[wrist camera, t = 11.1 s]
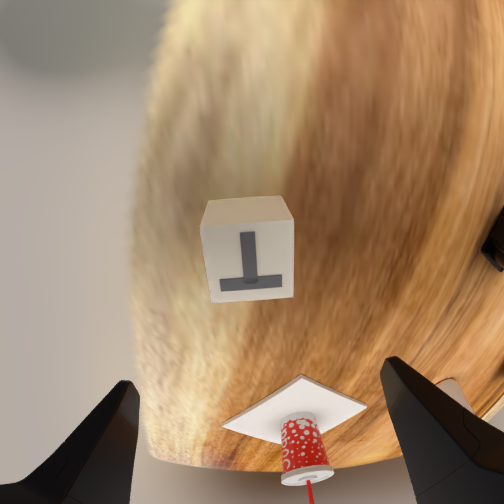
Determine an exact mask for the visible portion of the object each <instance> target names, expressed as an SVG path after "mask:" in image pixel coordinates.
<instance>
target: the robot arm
mask: <svg viewBox="0 0 504 504" xmlns="http://www.w3.org/2000/svg"><path fill="white" fill-rule="evenodd" d="M482 254H483V255H484V256H485V257H486V258H487V259H488V260H489V261H490V262H491V263H492V264H493V265H494V266H495V267H496V268H497V269H498V271H500V272H502V271H503V270H504V209H503V211H502V213H501V215H500V217H499V219H498V221H497V223H496V225H495V226H494V228H493V230H492V232H491V234H490V236H489V237H488V239H487V241H486V243H485V244H484V246H483V248H482ZM380 378H381V382H382V386H383V390H384V395H385V399H386V403H387V407H388V411H389V414H390V418H391V420H392V423H393V426H394V429H395V432H396V435H397V438H398V441H399V444H400V447H401V450H402V453H403V456H404V459H405V462H406V466H407V469H408V472H409V476H410V479H411V483H412V485H413V490H414V493H415V496H416V501H417V504H504V432H502V431H501V430H499V429H497V428H495V427H493V426H492V425H490V424H488V423H487V422H485V421H484V420H482V419H480V418H479V417H477V416H476V415H475V414H473V413H472V412H470V411H469V410H468V409H466V408H465V407H463V406H462V405H461V404H460V403H458V402H457V401H456V400H454V399H453V398H452V397H450V396H449V395H448V394H446V393H445V392H444V391H442V390H441V389H440V388H438V387H437V386H436V385H434V384H433V383H432V382H430V381H429V380H428V379H426V378H425V377H424V376H422V375H421V374H420V373H418V372H417V371H416V370H415V369H413V368H412V367H411V366H409V365H408V364H407V363H405V362H404V361H403V360H401V359H400V358H399V357H397V356H393V357H389V358H386V359H385V361H384V364H383V366H382V369H381V372H380ZM139 407H140V395H139V393H138V391H137V389H136V388H135V386H134V384H133V383H132V382H131V381H128V380H121V381H119V382H118V383H117V384H116V385H115V386H114V388H113V389H112V390H111V391H110V392H109V393H108V394H107V395H106V396H105V397H104V398H103V400H102V401H101V402H100V403H99V404H98V405H97V406H96V407H95V408H94V409H93V410H92V411H91V413H90V414H89V415H88V416H87V417H86V418H85V419H84V420H83V421H82V422H81V423H80V425H79V426H78V427H77V428H76V429H75V430H74V431H73V432H72V433H71V434H70V436H69V437H68V438H67V439H66V440H65V442H63V443H62V444H61V445H60V446H59V448H58V449H57V450H56V451H55V452H54V453H53V454H52V455H51V456H50V457H49V458H48V459H46V460H45V461H44V462H43V463H42V464H41V465H40V466H39V467H37V468H36V469H35V470H34V471H33V472H32V473H31V474H30V475H28V476H27V477H26V478H24V479H23V480H21V481H19V482H16V483H10V484H3V485H0V504H129V502H130V492H131V483H132V475H133V467H134V459H135V452H136V445H137V438H138V427H139Z"/></svg>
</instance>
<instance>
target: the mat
mask: <svg viewBox="0 0 504 504" xmlns="http://www.w3.org/2000/svg"><path fill="white" fill-rule="evenodd" d="M365 408H367V404H365V403H363V402H361V401H358V400H356V399H354V398H351V397H349V396H347V395H345V394H342V393H340V392H338V391H336V390H334V389H331V388H329V387H327V386H325V385H323V384H321V383H319V382H317V381H314V380H312V379H310V378H308V377H306V376H304V375H302V374H300V375H299V376H297V377H296V378H294V379H293V380H291V381H290V382H288V383H287V384H285V385H284V386H282V387H281V388H279V389H278V390H276V391H275V392H273V393H272V394H270V395H269V396H267V397H265V398H264V399H262V400H261V401H259V402H257V403H256V404H254V405H252V406H251V407H249V408H247V409H246V410H244V411H242V412H241V413H239V414H237V415H235V416H234V417H232V418H230V419H228V420H227V421H225V422H223V423H222V427H224V428H227V429H230V430H233V431H236V432H239V433H243V434H246V435H249V436H252V437H256V438H259V439H263V440H267V441H270V442H274V443H278V444H282V442H281V424H280V423H281V420H282V419H283V418H284V417H285V416H287V415H289V414H292V413H295V412H310V413H313V414H314V415H315V418H316V421H317V425H318V428H319V431H320V434H322V433H324V432H326V431H328V430H330V429H331V428H333V427H335V426H337V425H339V424H340V423H342V422H344V421H346V420H347V419H349V418H351V417H352V416H354V415H356V414H357V413H359V412H361V411H362V410H364V409H365Z"/></svg>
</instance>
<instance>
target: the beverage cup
mask: <svg viewBox="0 0 504 504" xmlns="http://www.w3.org/2000/svg"><path fill="white" fill-rule="evenodd" d="M280 424H281V442H282V462H283V475H282V477H281V479H282V481H281V482H282V484H284V485H290V486H294V485H305V484H307V489H308V496H309V502H310V504H314V500H313V494H312V488H311V483H315V482H319V481H322V480H324V479H327V478H329V477H331V476H332V475H333V474H334V471H333V468H332V466H330V465H329V461H328V458H327V455H326V451H325V448H324V444H323V441H322V438H321V434H320V431H319V428H318V425H317V421H316V418H315V415H314V414H313V413H310V412H295V413H292V414H289V415H287V416H285V417H284V418H283V419H282V420H281V423H280Z"/></svg>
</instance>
